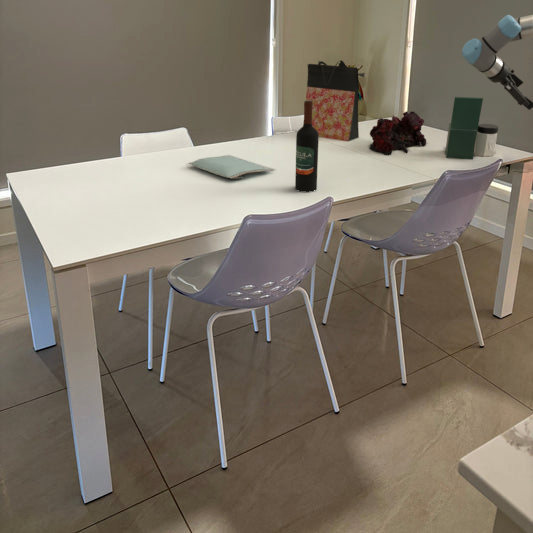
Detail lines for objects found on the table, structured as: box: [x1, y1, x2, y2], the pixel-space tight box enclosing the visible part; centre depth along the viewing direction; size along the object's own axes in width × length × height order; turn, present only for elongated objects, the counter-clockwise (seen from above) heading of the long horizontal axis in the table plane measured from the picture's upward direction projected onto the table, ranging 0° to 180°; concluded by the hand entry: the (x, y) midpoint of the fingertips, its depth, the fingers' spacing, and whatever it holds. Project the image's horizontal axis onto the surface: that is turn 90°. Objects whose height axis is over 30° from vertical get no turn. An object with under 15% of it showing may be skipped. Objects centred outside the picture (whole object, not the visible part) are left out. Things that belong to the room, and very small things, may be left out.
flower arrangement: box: [369, 110, 427, 156], centre depth 259 cm, size 31×20×15 cm, turn 137°
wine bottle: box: [294, 100, 320, 193], centre depth 201 cm, size 8×8×30 cm
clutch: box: [188, 155, 273, 179], centre depth 228 cm, size 28×4×20 cm
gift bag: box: [302, 59, 366, 142], centre depth 274 cm, size 29×14×35 cm, turn 53°
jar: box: [473, 123, 499, 158], centre depth 248 cm, size 9×8×12 cm
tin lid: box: [450, 96, 484, 130], centre depth 235 cm, size 13×11×1 cm
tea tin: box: [445, 122, 477, 160], centre depth 247 cm, size 13×11×12 cm
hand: (526, 95), depth 227 cm, fingers open, 13 cm apart
